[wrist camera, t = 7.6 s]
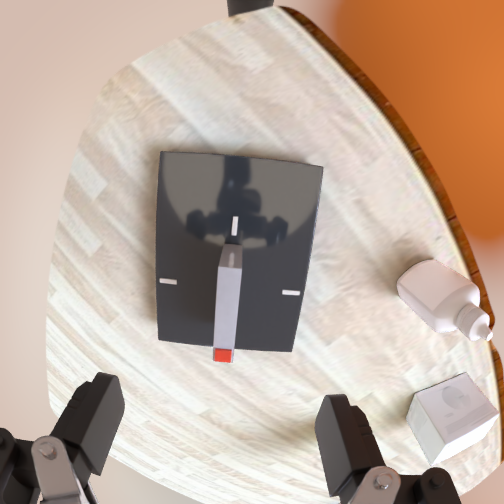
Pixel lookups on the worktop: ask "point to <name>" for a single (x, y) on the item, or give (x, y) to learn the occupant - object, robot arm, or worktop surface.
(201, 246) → the plate
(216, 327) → the tap lever
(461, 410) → the cosmetics box
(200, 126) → the worktop surface
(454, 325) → the eye dropper bottle
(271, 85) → the worktop surface
